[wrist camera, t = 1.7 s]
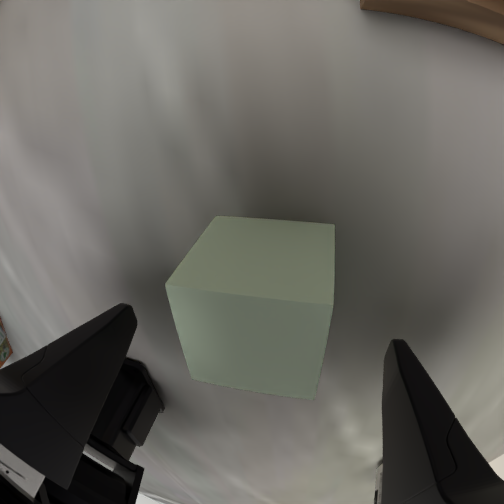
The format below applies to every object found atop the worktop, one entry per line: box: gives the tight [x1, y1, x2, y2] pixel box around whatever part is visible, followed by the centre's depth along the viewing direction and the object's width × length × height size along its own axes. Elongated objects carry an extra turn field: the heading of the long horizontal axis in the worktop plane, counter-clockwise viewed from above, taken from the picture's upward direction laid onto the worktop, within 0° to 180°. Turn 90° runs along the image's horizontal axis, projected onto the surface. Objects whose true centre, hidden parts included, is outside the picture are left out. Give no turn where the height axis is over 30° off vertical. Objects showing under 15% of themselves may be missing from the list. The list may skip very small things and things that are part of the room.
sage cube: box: [165, 216, 335, 400], centre depth 11 cm, size 4×4×4 cm
